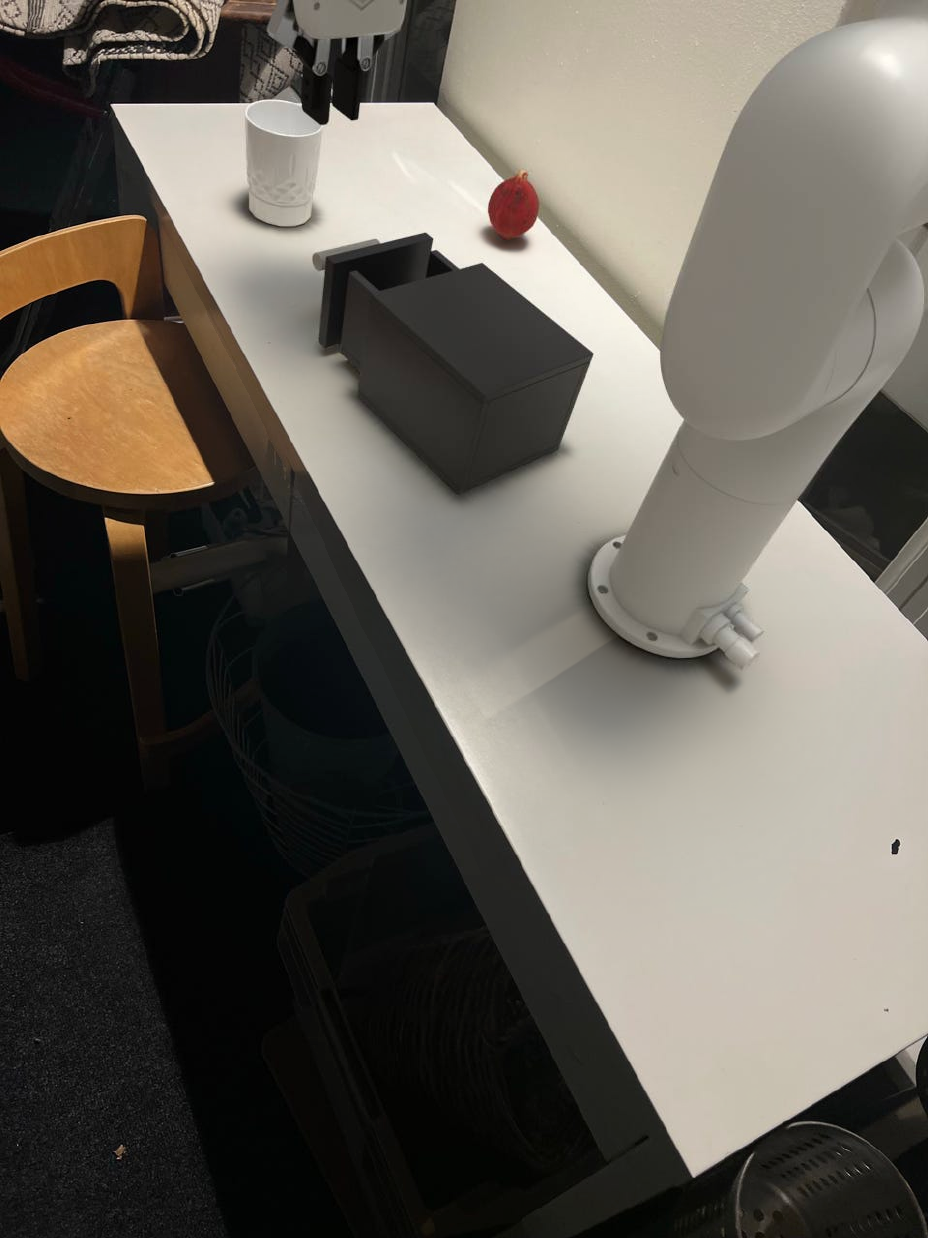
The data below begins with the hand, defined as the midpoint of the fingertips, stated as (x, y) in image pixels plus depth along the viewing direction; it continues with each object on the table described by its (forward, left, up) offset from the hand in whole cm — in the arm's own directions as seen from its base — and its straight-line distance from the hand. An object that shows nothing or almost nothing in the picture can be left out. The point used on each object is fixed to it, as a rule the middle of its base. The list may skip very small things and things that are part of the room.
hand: (330, 113), depth 79 cm
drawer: (-13, 0, -16) cm, 21 cm away
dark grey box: (-23, 0, -17) cm, 29 cm away
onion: (0, -27, -17) cm, 32 cm away
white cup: (+14, -5, -17) cm, 23 cm away
